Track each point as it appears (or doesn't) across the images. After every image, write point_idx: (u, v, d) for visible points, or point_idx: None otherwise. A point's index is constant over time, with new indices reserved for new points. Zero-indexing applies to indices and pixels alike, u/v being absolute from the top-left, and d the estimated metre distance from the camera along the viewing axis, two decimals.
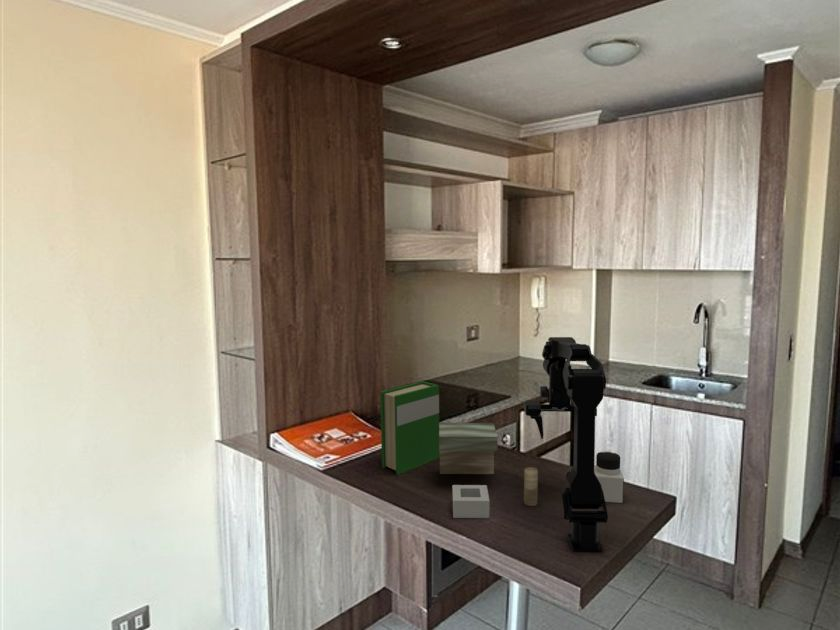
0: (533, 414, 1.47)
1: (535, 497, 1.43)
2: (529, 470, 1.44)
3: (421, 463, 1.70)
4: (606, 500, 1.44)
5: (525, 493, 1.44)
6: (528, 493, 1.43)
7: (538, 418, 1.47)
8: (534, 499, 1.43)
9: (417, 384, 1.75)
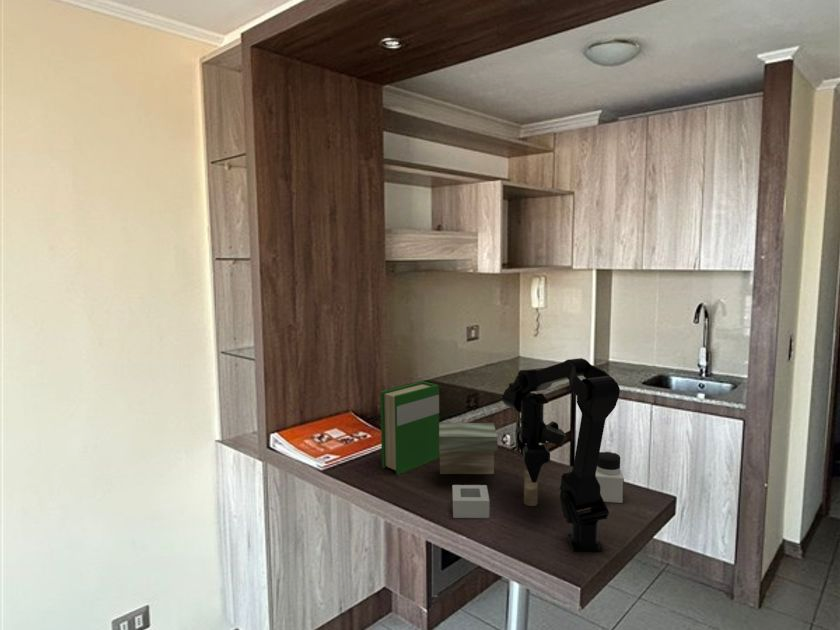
0: (515, 436, 1.50)
1: (535, 497, 1.43)
2: None
3: (421, 463, 1.70)
4: (606, 500, 1.44)
5: (525, 493, 1.44)
6: (528, 493, 1.43)
7: (517, 442, 1.49)
8: (534, 499, 1.43)
9: (417, 384, 1.75)
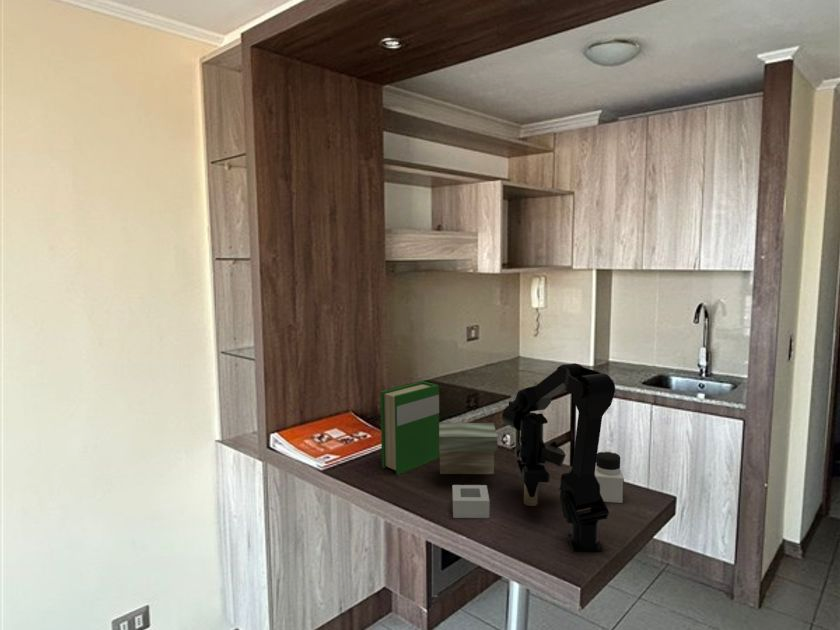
0: (515, 454, 1.51)
1: (535, 497, 1.43)
2: None
3: (421, 463, 1.70)
4: (606, 500, 1.44)
5: (525, 493, 1.44)
6: (528, 493, 1.43)
7: (518, 464, 1.47)
8: (534, 499, 1.43)
9: (417, 384, 1.75)
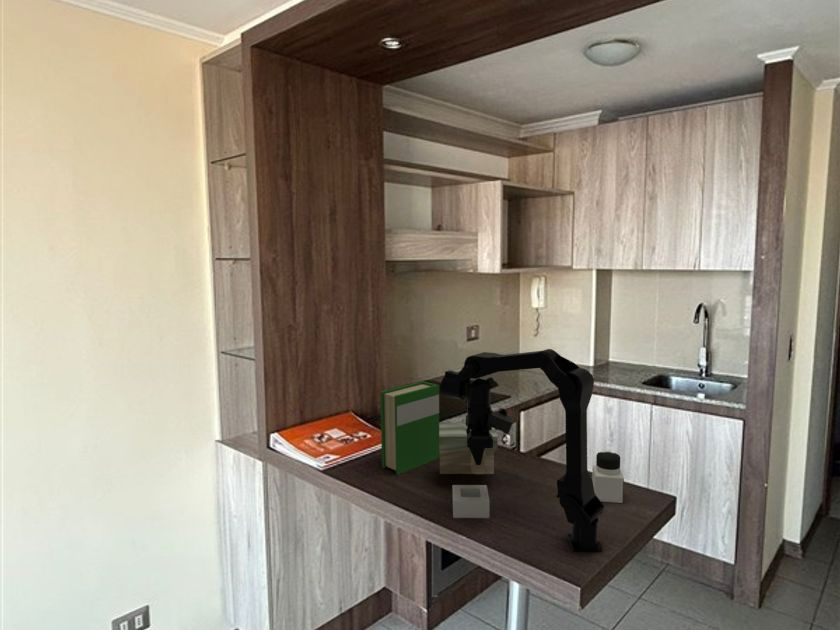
0: None
1: (482, 465, 1.39)
2: None
3: (421, 463, 1.70)
4: (606, 500, 1.44)
5: (472, 461, 1.40)
6: None
7: None
8: (481, 468, 1.39)
9: (417, 384, 1.75)
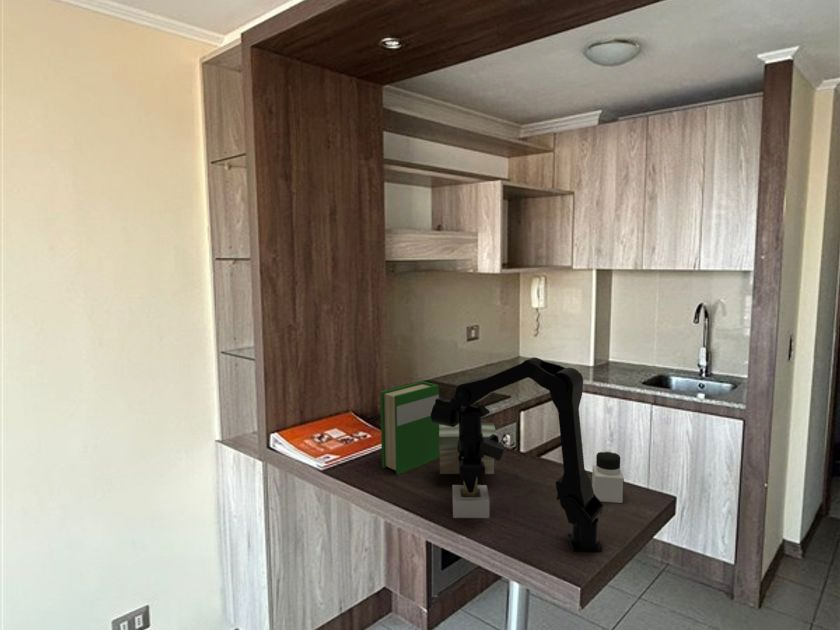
0: None
1: (474, 492, 1.40)
2: None
3: (421, 463, 1.70)
4: (606, 500, 1.44)
5: (464, 488, 1.40)
6: (467, 489, 1.39)
7: None
8: (473, 495, 1.39)
9: (417, 384, 1.75)
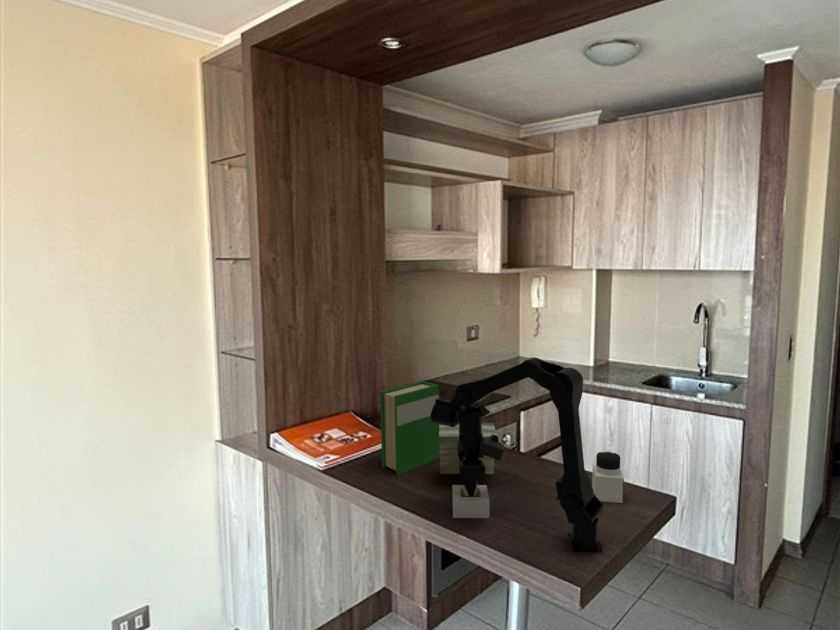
0: (457, 449, 1.47)
1: None
2: None
3: (421, 463, 1.70)
4: (606, 500, 1.44)
5: None
6: None
7: (458, 455, 1.46)
8: None
9: (417, 384, 1.75)
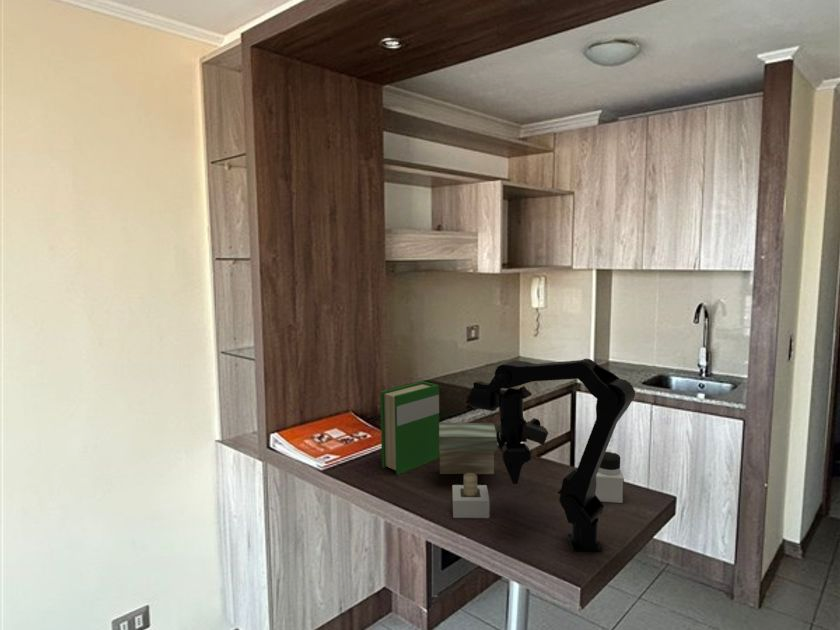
0: (496, 435, 1.41)
1: None
2: (468, 476, 1.40)
3: (421, 463, 1.70)
4: (606, 500, 1.44)
5: None
6: None
7: (497, 441, 1.40)
8: None
9: (417, 384, 1.75)
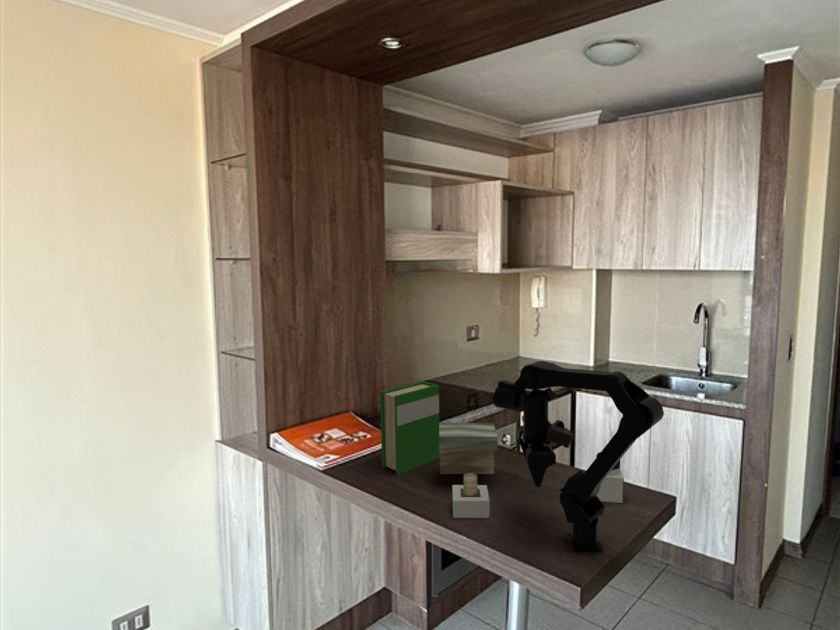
0: (518, 436, 1.38)
1: None
2: (468, 476, 1.40)
3: (421, 463, 1.70)
4: (606, 500, 1.44)
5: None
6: None
7: (519, 442, 1.37)
8: None
9: (417, 384, 1.75)
